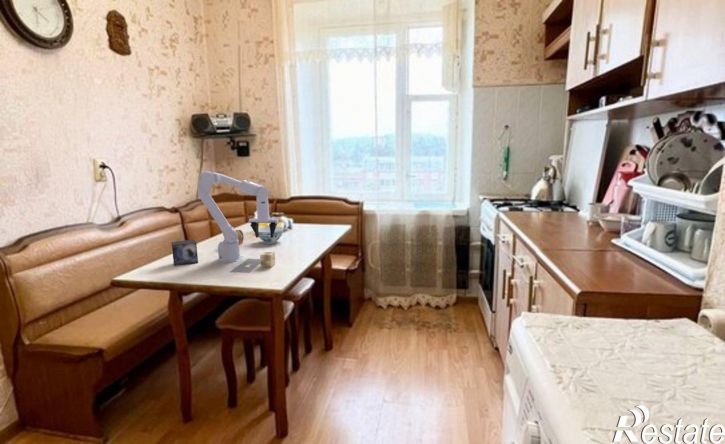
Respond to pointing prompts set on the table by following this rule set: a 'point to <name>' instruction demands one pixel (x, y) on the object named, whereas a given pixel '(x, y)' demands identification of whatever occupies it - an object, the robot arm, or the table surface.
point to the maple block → (267, 259)
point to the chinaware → (266, 235)
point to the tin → (240, 236)
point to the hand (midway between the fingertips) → (264, 237)
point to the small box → (184, 252)
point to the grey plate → (247, 266)
